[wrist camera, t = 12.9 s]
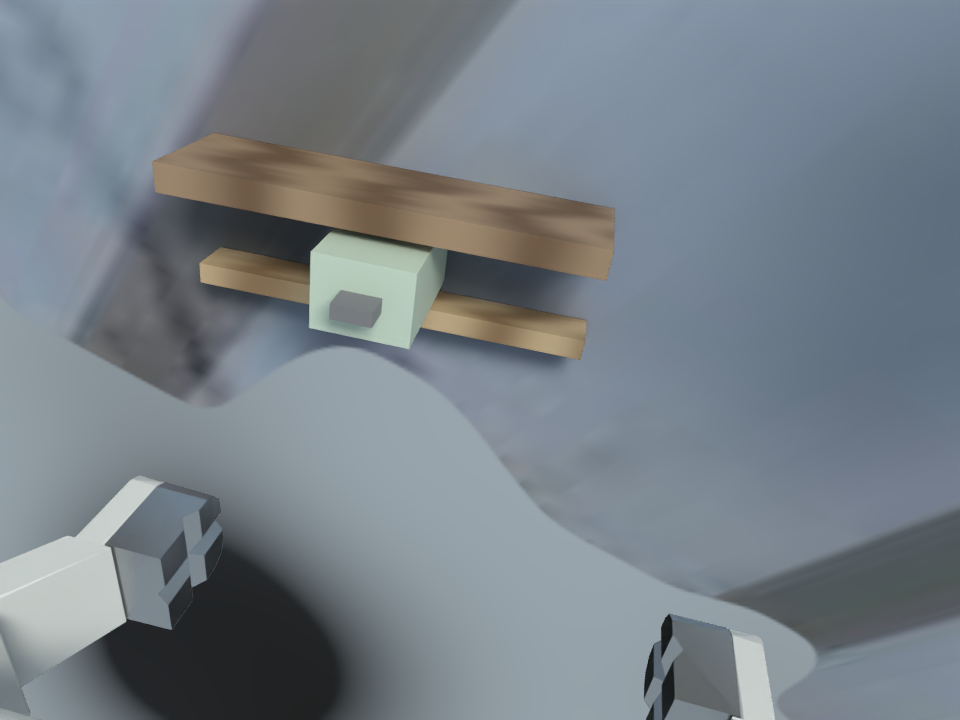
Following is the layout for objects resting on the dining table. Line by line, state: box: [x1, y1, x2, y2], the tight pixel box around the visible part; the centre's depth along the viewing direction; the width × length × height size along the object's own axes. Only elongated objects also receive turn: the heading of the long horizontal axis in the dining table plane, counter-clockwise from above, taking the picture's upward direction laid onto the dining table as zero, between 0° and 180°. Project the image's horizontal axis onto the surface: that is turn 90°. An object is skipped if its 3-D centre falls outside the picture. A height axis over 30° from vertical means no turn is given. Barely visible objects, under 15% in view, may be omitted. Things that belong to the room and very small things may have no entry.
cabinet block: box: [309, 228, 448, 349], centre depth 36 cm, size 5×4×10 cm
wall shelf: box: [152, 133, 614, 360], centre depth 37 cm, size 22×8×6 cm, turn 82°
